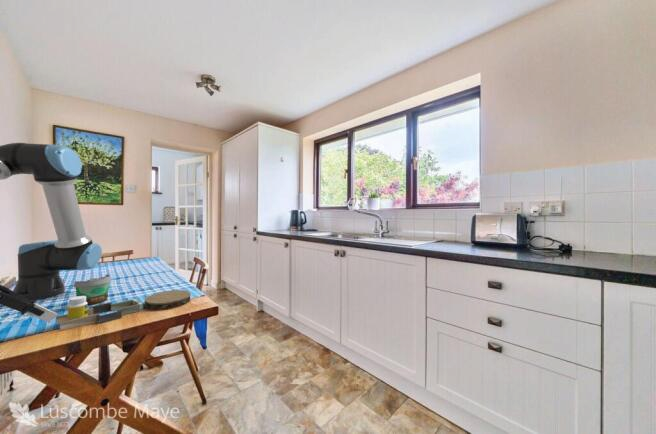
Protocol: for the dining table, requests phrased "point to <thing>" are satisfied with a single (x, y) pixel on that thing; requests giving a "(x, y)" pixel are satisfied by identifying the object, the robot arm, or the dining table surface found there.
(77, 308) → the supplement bottle
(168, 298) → the brown round disc
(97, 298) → the food container
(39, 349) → the dining table surface
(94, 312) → the trap box
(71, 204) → the robot arm
